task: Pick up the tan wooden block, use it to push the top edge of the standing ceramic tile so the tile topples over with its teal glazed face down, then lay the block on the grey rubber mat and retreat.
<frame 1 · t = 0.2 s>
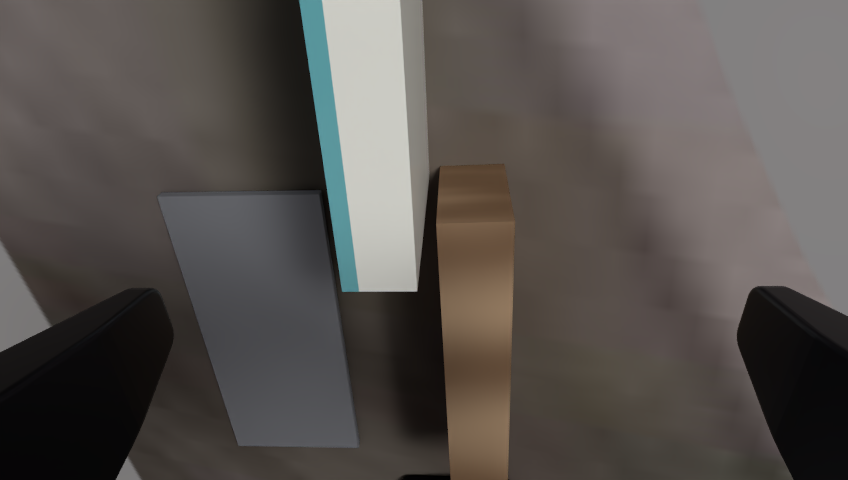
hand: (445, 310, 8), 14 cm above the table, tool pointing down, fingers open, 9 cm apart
mat: (274, 334, 27), on the table
tile: (392, 23, 20), on the table
tan wooden block: (474, 299, 26), on the table
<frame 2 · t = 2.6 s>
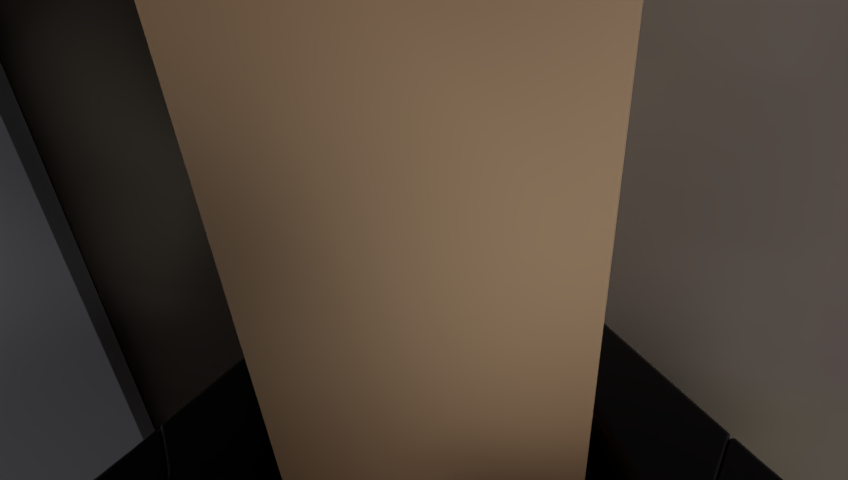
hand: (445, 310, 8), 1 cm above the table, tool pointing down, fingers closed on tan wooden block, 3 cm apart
tan wooden block: (446, 263, 9), on the table, touching gripper
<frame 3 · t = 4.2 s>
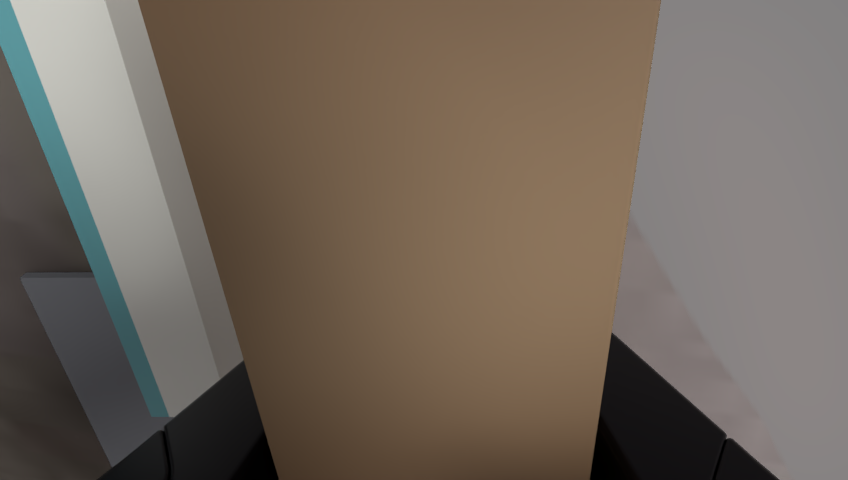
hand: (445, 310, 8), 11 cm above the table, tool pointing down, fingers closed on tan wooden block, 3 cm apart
mat: (163, 412, 26), on the table
tile: (246, 108, 18), on the table
tan wooden block: (445, 264, 9), point 10 cm above the table, touching gripper
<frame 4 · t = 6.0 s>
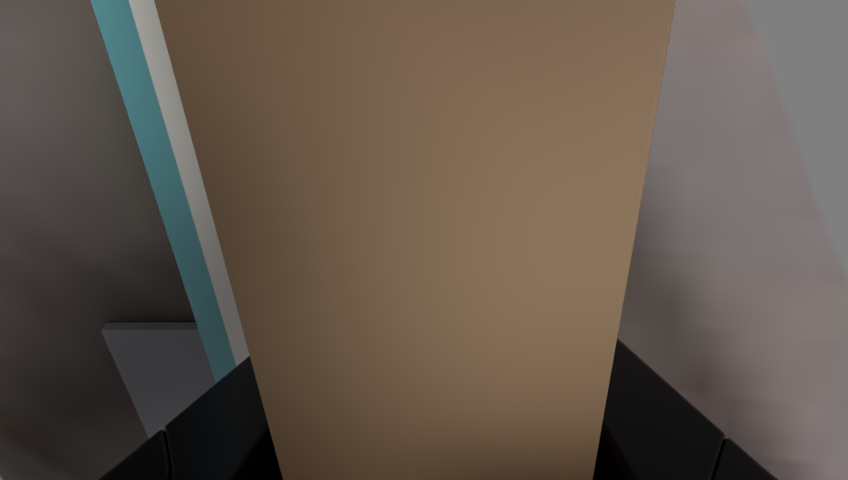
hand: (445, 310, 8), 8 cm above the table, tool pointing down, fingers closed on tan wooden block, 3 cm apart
mat: (250, 471, 23), on the table
tile: (388, 138, 15), on the table, tilted 8°, touching gripper
tan wooden block: (446, 264, 9), point 7 cm above the table, touching gripper
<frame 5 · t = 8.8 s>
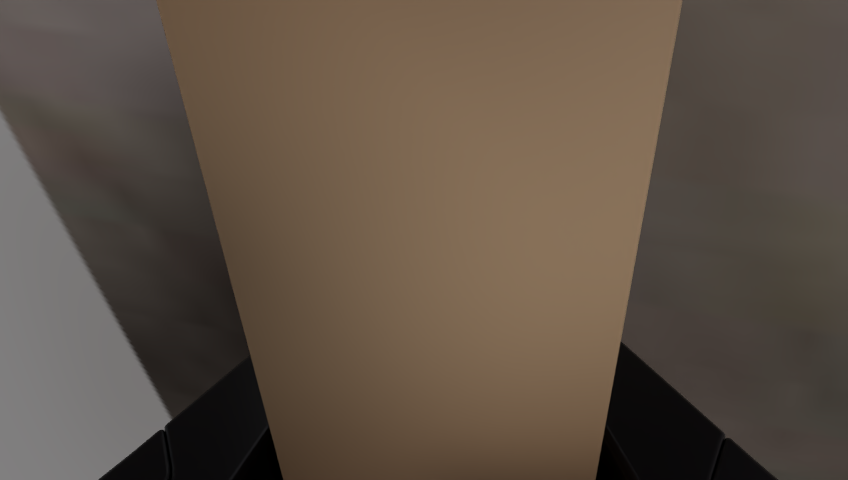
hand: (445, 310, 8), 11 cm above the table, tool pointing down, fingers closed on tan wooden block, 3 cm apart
tan wooden block: (447, 261, 9), point 9 cm above the table, touching gripper
when the fingers open (3 cm above the table, at t = 11.2 s): tan wooden block drops 1 cm, resting on mat.
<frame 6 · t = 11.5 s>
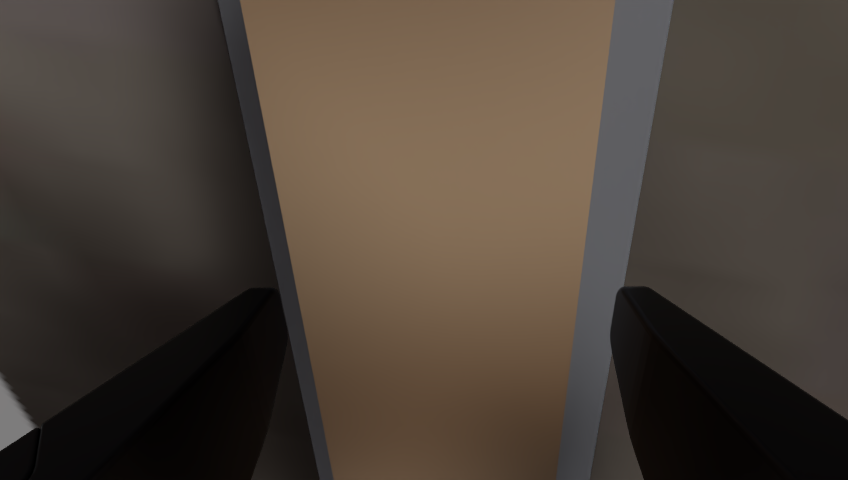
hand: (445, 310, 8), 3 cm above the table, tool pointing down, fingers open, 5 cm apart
mat: (446, 222, 11), on the table
tan wooden block: (448, 229, 10), resting on mat
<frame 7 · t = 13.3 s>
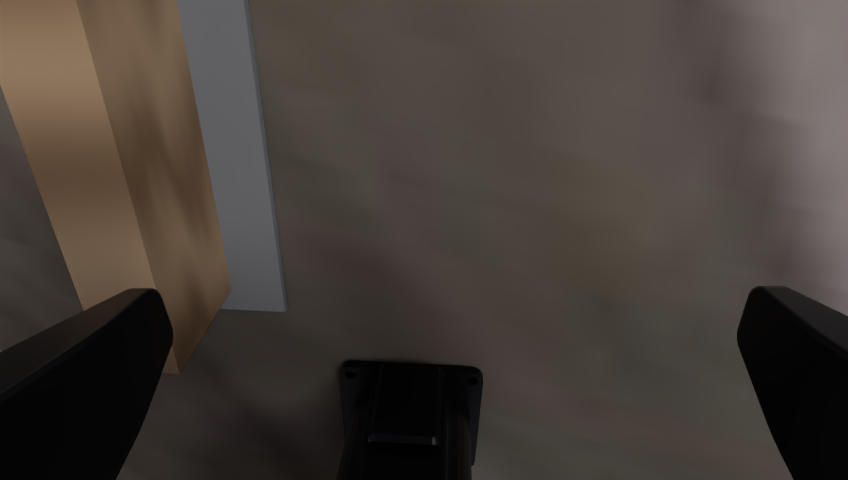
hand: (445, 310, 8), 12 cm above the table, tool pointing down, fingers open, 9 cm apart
mat: (169, 125, 20), on the table
tan wooden block: (165, 127, 20), resting on mat
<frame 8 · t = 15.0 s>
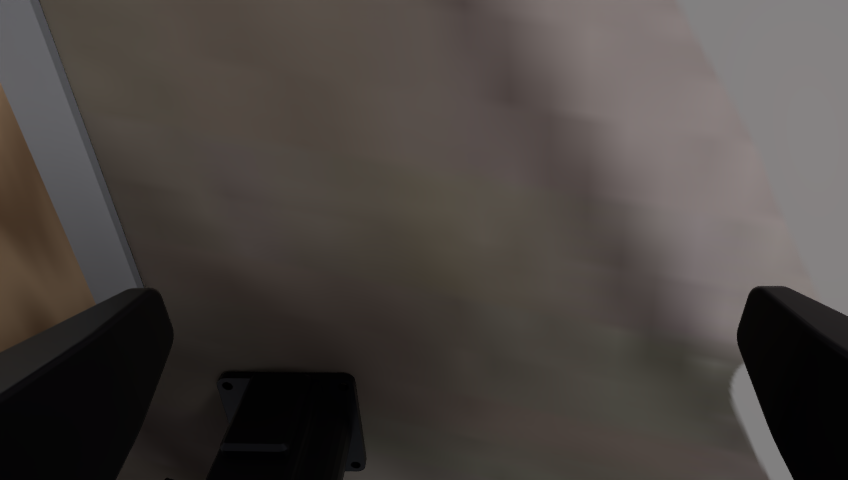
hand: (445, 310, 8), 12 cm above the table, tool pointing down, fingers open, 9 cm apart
mat: (8, 159, 21), on the table
tan wooden block: (1, 161, 20), resting on mat
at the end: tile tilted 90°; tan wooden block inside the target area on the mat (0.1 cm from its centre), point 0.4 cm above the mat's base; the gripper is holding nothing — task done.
